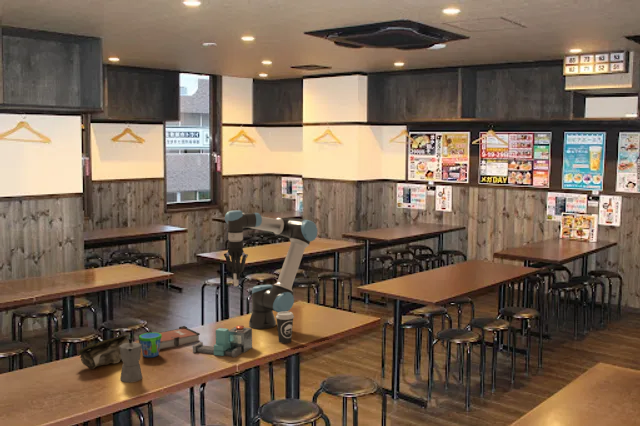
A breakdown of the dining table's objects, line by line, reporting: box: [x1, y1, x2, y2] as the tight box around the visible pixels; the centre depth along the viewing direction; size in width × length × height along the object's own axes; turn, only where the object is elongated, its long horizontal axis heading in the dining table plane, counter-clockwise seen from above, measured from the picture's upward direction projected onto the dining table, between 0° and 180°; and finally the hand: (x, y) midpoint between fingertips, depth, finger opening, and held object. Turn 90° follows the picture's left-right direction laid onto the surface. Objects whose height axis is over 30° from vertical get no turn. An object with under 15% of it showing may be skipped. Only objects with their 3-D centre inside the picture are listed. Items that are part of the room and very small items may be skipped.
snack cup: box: [138, 332, 162, 358], centre depth 315 cm, size 16×10×10 cm
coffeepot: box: [119, 338, 143, 383], centre depth 283 cm, size 15×9×18 cm, turn 13°
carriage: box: [213, 327, 231, 357], centre depth 318 cm, size 8×5×12 cm, turn 160°
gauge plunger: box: [235, 325, 245, 331], centre depth 325 cm, size 4×4×6 cm
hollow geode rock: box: [76, 334, 130, 370], centre depth 302 cm, size 28×13×15 cm
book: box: [138, 325, 201, 351], centre depth 337 cm, size 26×18×5 cm
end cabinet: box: [229, 326, 253, 354], centre depth 325 cm, size 9×9×10 cm
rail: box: [192, 341, 242, 358], centre depth 320 cm, size 7×23×3 cm, turn 70°
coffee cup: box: [275, 311, 295, 344], centre depth 338 cm, size 10×10×15 cm
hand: (236, 285), depth 337 cm, fingers closed
